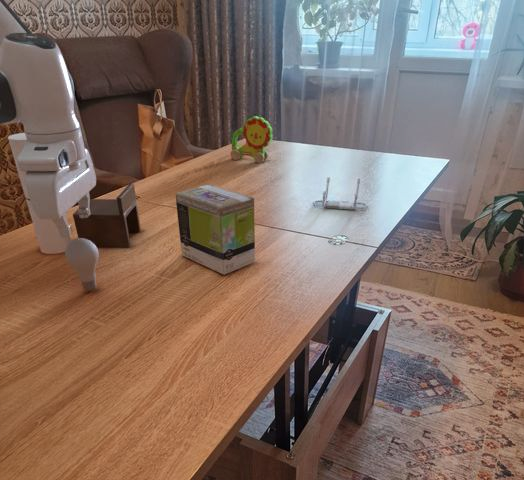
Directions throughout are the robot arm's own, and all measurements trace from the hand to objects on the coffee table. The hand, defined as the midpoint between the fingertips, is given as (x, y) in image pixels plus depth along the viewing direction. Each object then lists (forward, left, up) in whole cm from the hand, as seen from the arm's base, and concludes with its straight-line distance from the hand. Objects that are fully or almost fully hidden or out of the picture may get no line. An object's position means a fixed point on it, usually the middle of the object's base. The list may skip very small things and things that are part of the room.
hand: (76, 225), depth 90 cm
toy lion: (+26, +103, -14) cm, 107 cm away
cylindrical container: (-16, +21, -14) cm, 29 cm away
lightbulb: (0, 0, -14) cm, 14 cm away
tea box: (+24, +16, -14) cm, 32 cm away
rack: (-4, +27, -14) cm, 31 cm away
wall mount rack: (+55, +55, -14) cm, 79 cm away
